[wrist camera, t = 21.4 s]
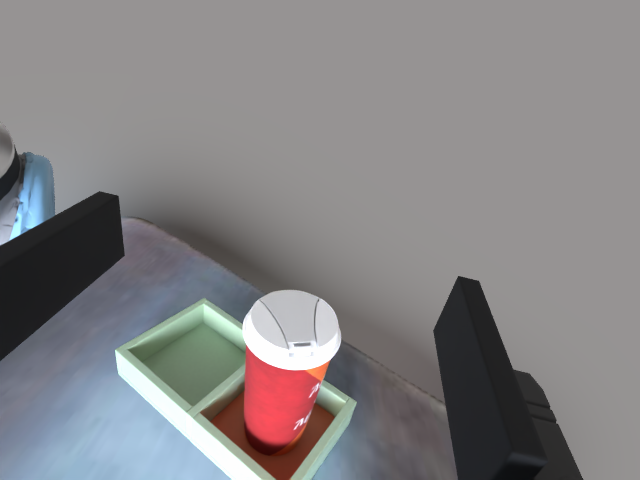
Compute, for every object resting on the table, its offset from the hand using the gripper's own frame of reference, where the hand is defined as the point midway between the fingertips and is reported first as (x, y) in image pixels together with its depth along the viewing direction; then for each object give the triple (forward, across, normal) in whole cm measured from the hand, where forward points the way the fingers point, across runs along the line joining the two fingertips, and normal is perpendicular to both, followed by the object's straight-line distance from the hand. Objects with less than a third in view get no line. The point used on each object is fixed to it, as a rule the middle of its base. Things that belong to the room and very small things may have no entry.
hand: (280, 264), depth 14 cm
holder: (+12, -5, -26) cm, 29 cm away
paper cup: (+10, 0, -25) cm, 27 cm away
